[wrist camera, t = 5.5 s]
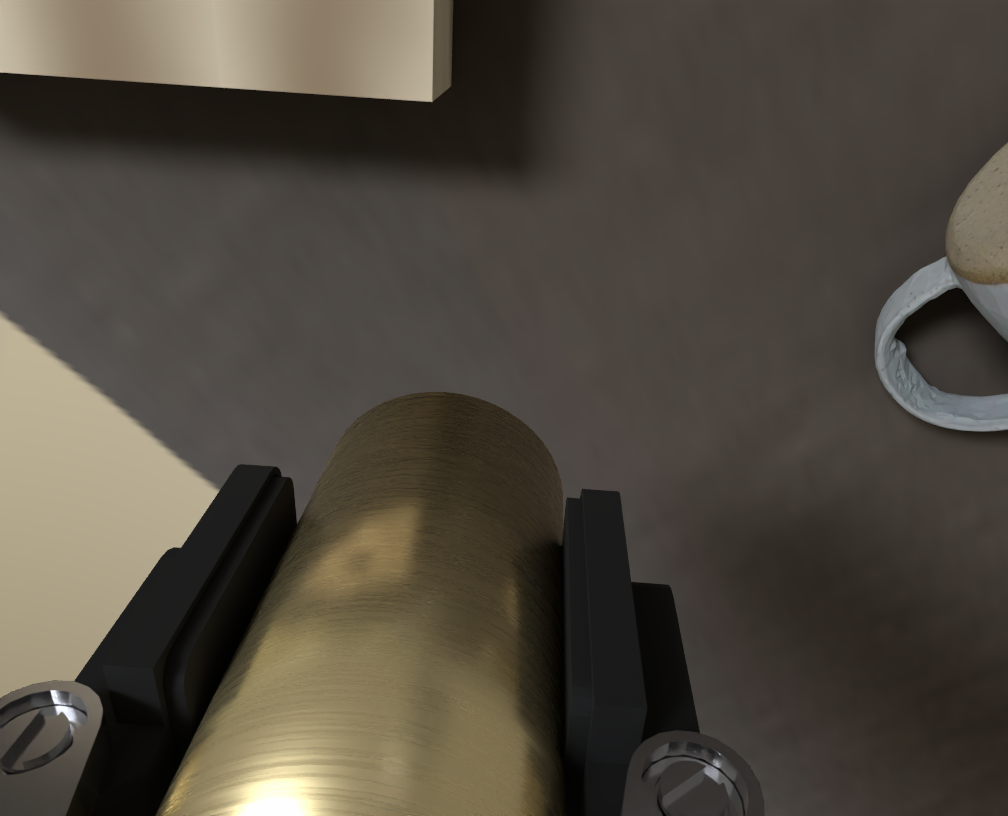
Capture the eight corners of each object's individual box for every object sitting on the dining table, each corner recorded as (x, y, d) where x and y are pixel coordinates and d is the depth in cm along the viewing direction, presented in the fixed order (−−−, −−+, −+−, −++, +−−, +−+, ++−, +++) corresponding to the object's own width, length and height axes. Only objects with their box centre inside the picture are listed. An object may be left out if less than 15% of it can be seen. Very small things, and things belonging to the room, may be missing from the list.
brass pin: (573, 400, 12) (596, 944, 5) (553, 599, 14) (550, 1198, 7) (319, 383, 12) (9, 894, 5) (332, 582, 14) (114, 1156, 7)
